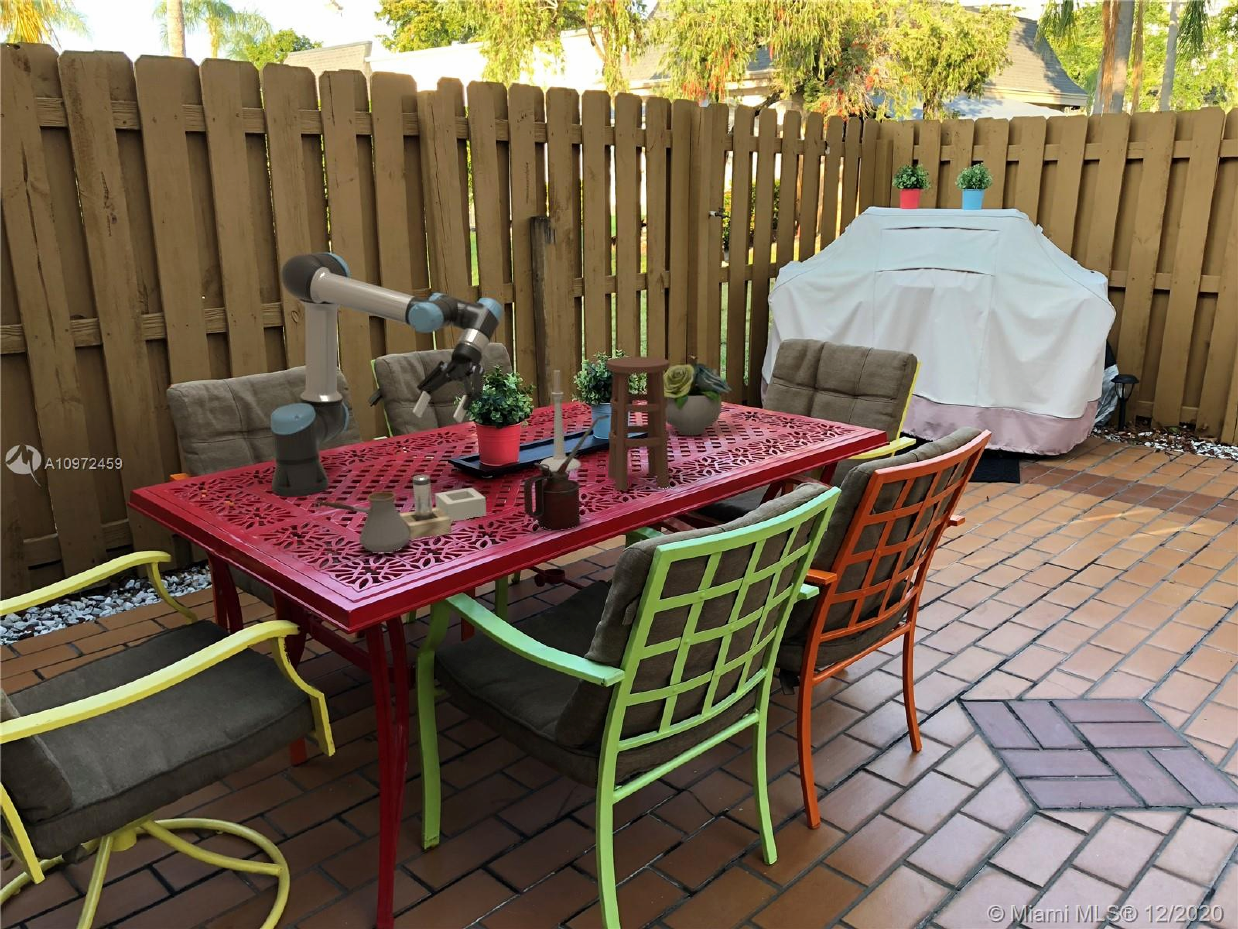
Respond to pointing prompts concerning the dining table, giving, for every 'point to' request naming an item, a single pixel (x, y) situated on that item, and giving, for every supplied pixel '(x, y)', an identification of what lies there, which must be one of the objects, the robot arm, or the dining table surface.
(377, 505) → the coffee pot
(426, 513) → the salt shaker
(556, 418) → the candlestick
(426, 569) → the dining table surface
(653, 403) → the stool
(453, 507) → the small grey open-top box
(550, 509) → the oil can
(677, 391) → the flower arrangement
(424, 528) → the socket block
